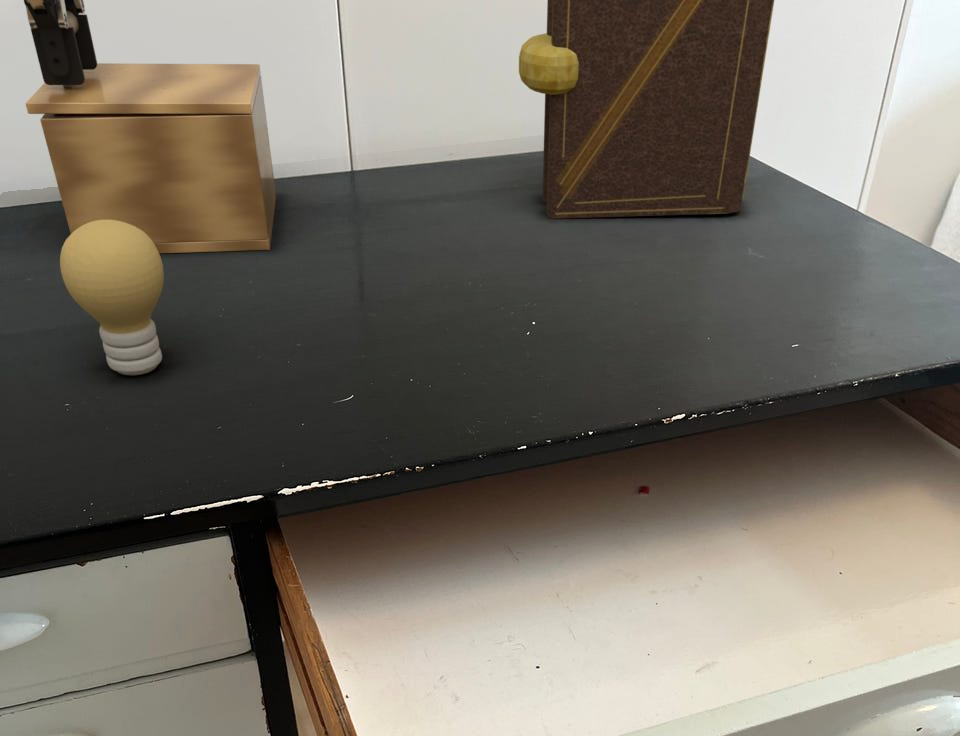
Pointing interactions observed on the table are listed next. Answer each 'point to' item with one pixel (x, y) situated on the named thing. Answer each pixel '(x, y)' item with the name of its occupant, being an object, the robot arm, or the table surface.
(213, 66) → the lid
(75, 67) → the robot arm
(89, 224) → the light bulb
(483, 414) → the table surface
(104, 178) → the chest
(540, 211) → the table surface
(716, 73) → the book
